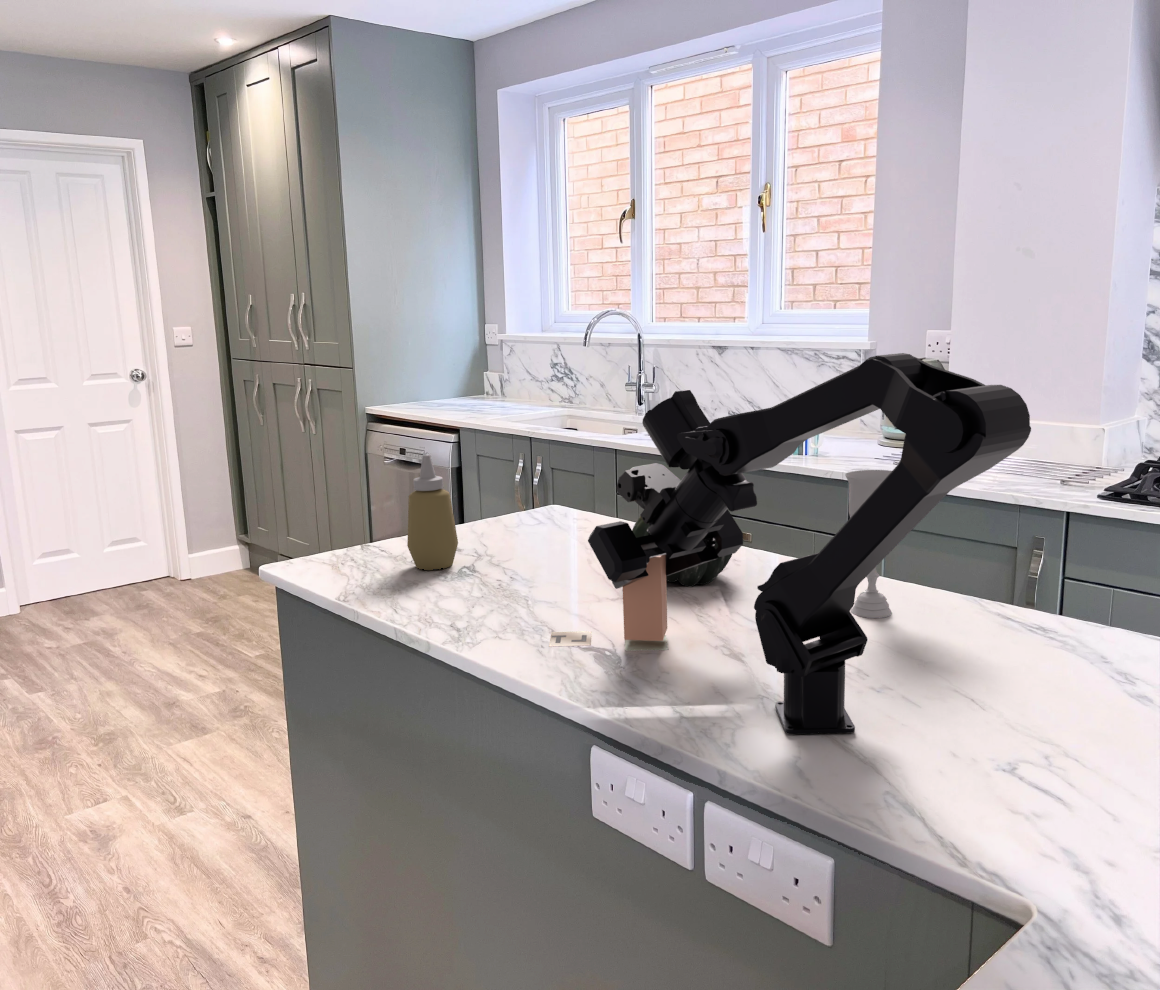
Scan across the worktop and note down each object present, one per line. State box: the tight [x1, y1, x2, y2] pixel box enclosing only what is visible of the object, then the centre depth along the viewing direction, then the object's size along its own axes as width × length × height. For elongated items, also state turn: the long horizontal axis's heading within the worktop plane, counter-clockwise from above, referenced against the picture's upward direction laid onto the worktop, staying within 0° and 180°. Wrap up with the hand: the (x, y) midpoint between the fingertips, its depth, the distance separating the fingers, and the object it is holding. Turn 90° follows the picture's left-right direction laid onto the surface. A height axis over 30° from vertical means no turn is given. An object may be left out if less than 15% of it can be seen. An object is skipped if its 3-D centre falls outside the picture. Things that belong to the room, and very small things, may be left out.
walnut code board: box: [548, 630, 669, 652], centre depth 114 cm, size 8×14×1 cm, turn 88°
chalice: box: [845, 469, 893, 619], centre depth 122 cm, size 7×7×18 cm
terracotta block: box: [622, 554, 668, 641], centre depth 112 cm, size 4×4×10 cm
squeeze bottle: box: [407, 454, 459, 571], centre depth 152 cm, size 8×8×18 cm
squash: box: [631, 515, 733, 587], centre depth 139 cm, size 14×15×15 cm
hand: (637, 579), depth 113 cm, fingers closed on terracotta block, 6 cm apart
